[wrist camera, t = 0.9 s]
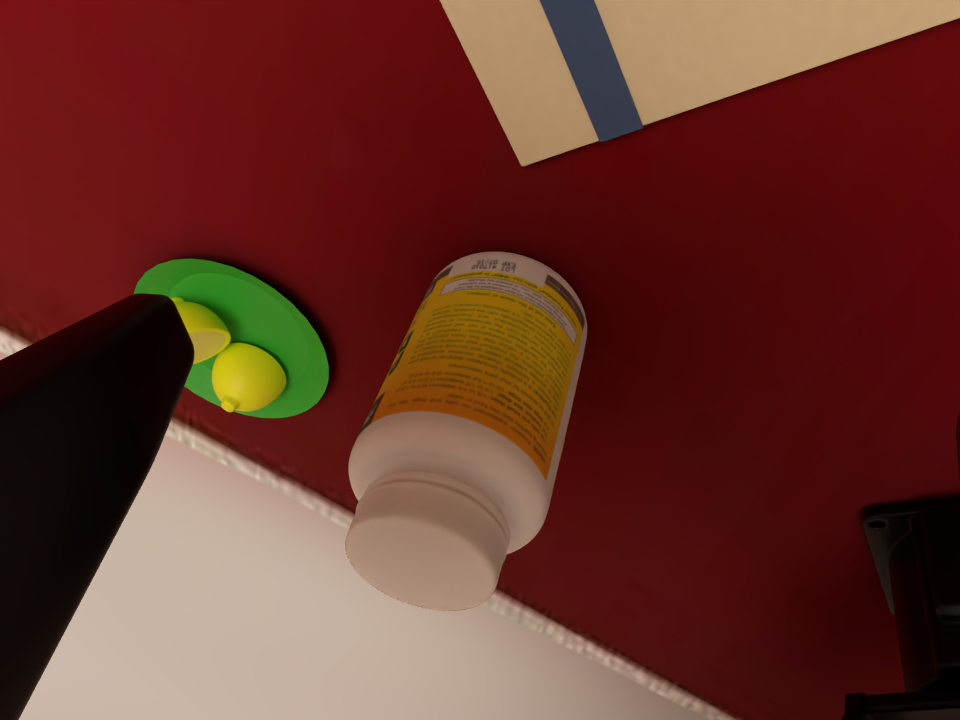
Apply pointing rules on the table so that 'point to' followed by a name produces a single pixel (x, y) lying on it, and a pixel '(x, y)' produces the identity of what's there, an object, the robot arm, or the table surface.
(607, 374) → the table surface
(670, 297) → the table surface
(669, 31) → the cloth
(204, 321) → the lemons on green plate
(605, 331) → the table surface
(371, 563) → the supplement bottle
